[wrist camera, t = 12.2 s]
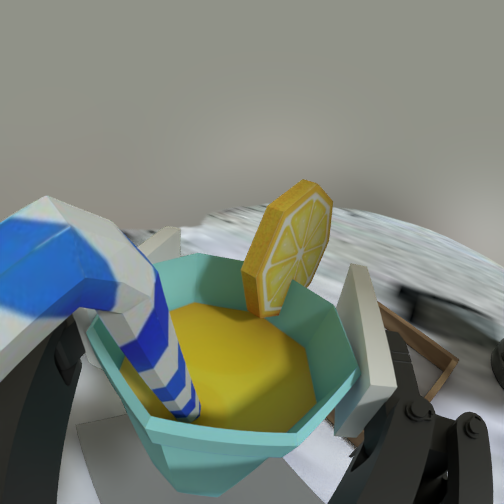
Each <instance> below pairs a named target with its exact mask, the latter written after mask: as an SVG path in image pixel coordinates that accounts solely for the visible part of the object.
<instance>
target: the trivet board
mask: <svg viewBox="0 0 504 504" xmlns="http://www.w3.org/2000/svg"><path fill="white" fill-rule="evenodd" d="M76 429H77V433H78V437H79V440H80V444H81V448H82V451H83V455H84V458H85V461H86V465H87V468H88V471H89V474H90V477H91V479H92V482H93V485H94V488H95V490H96V493H97V495H98V498H99V500H100V503H101V504H325V503H324V502H323V501H322V500H321V499H320V498H319V497H318V496H317V495H316V494H315V493H314V492H313V491H312V490H311V489H310V488H309V487H308V486H307V485H306V483H305V482H304V481H303V480H302V479H301V478H300V477H299V476H298V475H297V474H296V472H295V471H294V470H293V469H292V468H291V467H290V466H289V465H288V463H287V462H286V461H285V460H284V459H283V458H274V457H269V458H268V459H267V460H265V461H264V462H263V463H262V464H261V465H260V466H258V467H257V468H256V469H255V470H254V471H252V472H251V473H250V474H249V475H247V476H246V477H245V478H244V479H242V480H241V481H240V482H238V483H237V484H236V485H234V486H233V487H232V488H230V489H229V490H227V491H226V492H225V493H223V494H222V495H220V496H219V497H209V496H201V495H193V494H186V493H180V492H177V491H176V490H175V489H174V487H173V486H172V485H171V484H170V483H169V482H168V481H167V480H166V478H165V477H164V476H163V475H162V474H161V473H160V471H159V470H158V469H157V468H156V467H155V465H154V464H153V462H152V461H151V459H150V457H149V455H148V453H147V452H146V450H145V448H144V446H143V444H142V442H141V440H140V438H139V436H138V435H137V433H136V431H135V428H134V426H133V424H132V422H131V420H130V418H129V416H128V414H125V415H121V416H117V417H112V418H108V419H103V420H98V421H94V422H88V423H83V424H78V425H76Z"/></svg>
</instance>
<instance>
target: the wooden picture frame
mask: <svg viewBox="0 0 504 504" xmlns="http://www.w3.org/2000/svg"><path fill="white" fill-rule="evenodd" d="M377 302H378V301H377ZM378 306H379V309H380V313H381V317H382V321H383V325H384V327H385V328H386V329H388V330H389V331H394V332H398V333H399V334H400V335H401V337H402V338H403V339H404V341H405V342H406V344H408V345H409V346H410V347H412V348H413V349H414V350H416V351H417V352H418V353H420V354H421V355H422V356H424V357H425V358H426V359H428V360H429V361H430V362H432V363H433V364H434V365H436V366H437V367H438V368H440V369H441V370H442V371H443V374H442V375H441V376H440V378H439V379H438V380H437V382H436V383H435V384H434V386H433V387H432V388H431V389H430V391H429V392H428V393H427V394H426V396H425V397H424V398H425V399H427V400H428V401H429V402H431V400H432V399H433V398H434V396H435V395H436V394H437V392H438V391H439V390H440V388H441V387H442V385H443V384H444V383H445V381H446V380H447V378H448V377H449V375H450V374H451V372H452V371H453V369H454V368H455V366H456V365H457V363H458V361H459V359H458V358H456V357H455V356H454V355H452V354H451V353H450V352H448V351H447V350H445V349H444V348H443V347H441V346H440V345H439V344H437V343H436V342H435V341H433V340H432V339H430V338H429V337H428V336H426V335H425V334H423V333H422V332H421V331H419V330H418V329H416V328H415V327H414V326H412V325H411V324H409V323H408V322H407V321H405V320H404V319H402V318H401V317H400V316H398V315H397V314H395V313H394V312H392V311H391V310H390V309H388V308H387V307H385V306H384V305H382V304H381V303H380V302H378ZM326 418H327V419H328V420H329V421H330V422H331V423H332V424H333V425H334V424H335V407H334V409H333V410H332V411H331V412H330V413H329V414H328V415H327V416H326ZM347 438H348V439H349V440H350V441H351V442H352V443H353V444H354V445H355V446H356V447H358V446H359V445H360V444H361V443H362V442H363V441H364V430H363V431H362V432H361V433H360V434H359V435H358V436H357V438H352V437H347Z"/></svg>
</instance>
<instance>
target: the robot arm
mask: <svg viewBox="0 0 504 504" xmlns="http://www.w3.org/2000/svg"><path fill="white" fill-rule="evenodd" d="M180 237H181V229H180V228H175V227H170V226H165V227H164V228H162V229H161V230H160V231H158V232H157V233H156V234H154V235H153V236H152V237H150V238H149V239H147V240H146V241H145V242H143V243H142V244H141V245H139V246H138V247H137V248H138V249H139V250H140V251H141V252H142V253H143V254H144V255H145V256H146V257H147V259H148V260H149V261H150V262H151V264H154V263H158V262H162V261H166V260H171V259H175V258H179V257H180ZM336 310H337V313H338V315H339V317H340V320H341V322H342V325H343V327H344V330H345V332H346V335H347V337H348V340H349V342H350V345H351V347H352V350H353V352H354V355H355V358H356V360H357V363H358V365H359V368H360V371H361V375H360V377H359V378H358V379H357V381H356V382H355V383H354V384H353V386H352V387H351V388H350V389H349V391H348V392H347V393H346V394H345V396H344V397H343V398H342V399H341V400H340V402H339V403H338V404H337V405H336V406H335V424H334V436H340V437H352V438H357V436H358V435H359V434H360V433H361V432H362V431H363V430H364V441H363V442H362V443H361V444H360V445H359V446H358V447H357V448H356V449H355V450H354V451H353V452H352V453H351V455H350V456H349V457H351V458H352V457H353V456H354V457H353V459H352V461H351V463H350V465H349V467H348V469H347V471H346V473H345V474H344V476H343V478H342V480H341V482H340V483H339V485H338V487H337V489H336V490H335V492H334V494H333V495H332V497H331V499H330V500H329V502H328V504H493V476H492V462H491V452H490V444H489V437H488V430H487V427H486V424H485V422H484V421H483V419H482V418H481V417H480V416H479V415H477V414H476V413H472V412H465V413H463V414H462V415H460V416H459V417H458V418H457V419H456V420H452V419H448V418H445V417H442V416H439V415H436V414H435V411H434V408H433V406H432V404H431V403H430V402H429V401H428V400H427V399H425V398H424V397H422V396H420V394H419V390H418V386H417V381H416V378H415V374H414V370H413V366H412V364H411V359H410V355H408V354H409V352H408V348H407V345H406V342H405V341H404V339H403V338H402V337H401V335H400V334H399V333H398V332H394V331H388V330H385V329H384V325H383V321H382V317H381V313H380V309H379V306H378V302H377V299H376V295H375V292H374V288H373V285H372V282H371V278H370V275H369V272H368V269H367V267H366V266H361V265H356V264H352V263H351V264H350V267H349V270H348V274H347V277H346V280H345V283H344V286H343V289H342V292H341V295H340V298H339V301H338V304H337V307H336ZM96 315H97V312H96V311H95V310H94V309H88V308H82V307H79V308H78V309H77V310H76V311H74V312H73V313H72V314H71V315H70V316H69V317H68V318H66V319H65V320H64V321H63V322H62V323H61V324H60V325H59V326H58V327H56V328H55V329H54V330H53V331H52V332H51V333H50V334H49V335H48V336H47V337H46V338H44V339H43V340H42V341H41V342H40V343H39V344H38V345H37V346H36V347H35V348H34V349H33V350H32V351H31V352H30V353H29V354H28V355H27V356H26V357H25V358H24V359H23V360H22V361H20V362H19V363H18V364H17V365H16V366H15V367H14V368H13V369H12V371H11V372H10V373H9V374H8V375H7V376H6V377H5V378H4V379H3V380H2V381H1V382H0V504H56V503H57V490H58V480H59V472H60V465H61V458H62V451H63V446H64V440H65V435H66V430H67V425H68V420H69V415H70V411H71V407H72V402H73V398H74V394H75V391H76V387H77V383H78V379H79V376H80V372H81V369H82V363H81V360H80V358H81V356H82V355H83V354H84V353H86V355H87V358H88V361H89V363H90V364H92V365H94V366H96V367H98V368H100V369H102V367H101V365H100V364H99V362H98V360H97V358H96V356H95V354H94V351H93V349H92V347H91V344H90V342H89V339H88V337H87V334H86V332H87V330H88V328H89V327H90V325H91V323H92V322H93V320H94V318H95V317H96ZM491 363H492V368H493V371H494V374H495V376H496V378H497V380H498V381H499V383H500V384H501V386H502V387H503V389H504V338H503V339H502V340H501V341H500V342H499V344H498V345H497V347H496V348H495V350H494V351H493V353H492V356H491ZM102 370H103V369H102ZM447 471H448V477H447Z"/></svg>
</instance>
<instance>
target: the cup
mask: <svg viewBox="0 0 504 504" xmlns="http://www.w3.org/2000/svg"><path fill="white" fill-rule="evenodd" d="M332 207H333V201H332V200H331V198H330V197H329V196H328V195H327V194H326V193H325V191H324V190H323V189H322V188H321V187H320V186H319V185H318V184H317V183H314V182H311V181H307V180H304V179H303V180H301V181H300V182H298V183H297V184H296V185H294V186H293V187H292V188H290V189H289V190H288V191H287V192H285V193H284V194H282V195H281V196H280V197H279V198H277V199H276V200H275V201H273V202H272V203H271V204H269V205H268V206H267V208H266V210H265V213H264V215H263V218H262V220H261V222H260V225H259V227H258V230H257V232H256V234H255V237H254V239H253V241H252V244H251V246H250V249H249V251H248V253H247V256H246V258H245V261H240V260H234V259H229V258H223V257H217V256H212V255H206V254H201V253H196V254H191V255H187V256H183V257H179V258H175V259H171V260H166V261H162V262H158V263H154V264H151V262H150V261H149V260H148V259H147V257H146V256H145V255H144V254H143V253H142V252H141V251H140V250H139V249H138V248H137V247H136V246H135V245H134V244H133V243H132V242H131V241H130V240H129V239H128V238H127V237H126V236H125V235H124V233H123V232H122V231H121V230H120V229H119V228H118V227H117V226H116V225H115V224H114V223H113V222H112V221H110V220H108V219H105V218H103V217H100V216H97V215H95V214H92V213H89V212H87V211H85V210H82V209H80V208H77V207H74V206H72V205H69V204H67V203H64V202H62V201H59V200H57V199H54V198H52V197H49V196H44V197H42V198H40V199H38V200H36V201H34V202H32V203H30V204H28V205H27V206H25V207H23V208H22V209H20V210H18V211H17V212H15V213H13V214H12V215H10V216H8V217H7V218H5V219H4V220H2V221H1V222H0V382H1V381H2V380H3V379H4V378H5V377H6V376H7V375H8V374H9V373H10V372H11V371H12V369H13V368H14V367H15V366H16V365H17V364H18V363H19V362H20V361H22V360H23V359H24V358H25V357H26V356H27V355H28V354H29V353H30V352H31V351H32V350H33V349H34V348H35V347H36V346H37V345H38V344H39V343H40V342H41V341H42V340H43V339H44V338H46V337H47V336H48V335H49V334H50V333H51V332H52V331H53V330H54V329H55V328H56V327H58V326H59V325H60V324H61V323H62V322H63V321H64V320H65V319H66V318H68V317H69V316H70V315H71V314H72V313H73V312H74V311H76V310H77V309H78V308H79V307H82V308H88V309H94V310H95V311H96V312H97V315H96V317H95V318H94V320H93V322H92V323H91V325H90V327H89V328H88V330H87V332H86V334H87V337H88V339H89V342H90V344H91V347H92V349H93V351H94V354H95V356H96V358H97V360H98V362H99V364H100V365H101V367H102V369H103V371H104V372H105V374H106V376H107V378H108V379H109V381H110V383H111V384H112V386H113V387H114V389H115V391H116V392H117V394H118V395H119V397H120V398H121V400H122V403H123V405H124V407H125V409H126V412H127V414H128V416H129V418H130V420H131V422H132V424H133V426H134V428H135V431H136V433H137V435H138V436H139V438H140V440H141V442H142V444H143V446H144V448H145V450H146V452H147V453H148V455H149V457H150V459H151V461H152V462H153V464H154V465H155V467H156V468H157V469H158V470H159V471H160V473H161V474H162V475H163V476H164V477H165V478H166V480H167V481H168V482H169V483H170V484H171V485H172V486H173V487H174V489H175V490H176V491H177V492H180V493H186V494H193V495H201V496H209V497H219V496H220V495H222V494H223V493H225V492H226V491H227V490H229V489H230V488H232V487H233V486H234V485H236V484H237V483H238V482H240V481H241V480H242V479H244V478H245V477H246V476H247V475H249V474H250V473H251V472H252V471H254V470H255V469H256V468H257V467H258V466H260V465H261V464H262V463H263V462H264V461H265V460H267V459H268V458H269V457H274V458H282V457H283V456H285V455H286V454H288V453H289V452H291V451H292V450H293V449H295V448H296V447H298V446H299V445H300V444H301V443H302V442H303V441H304V440H305V439H306V438H307V437H308V436H309V435H310V434H311V433H312V432H313V431H314V430H315V428H316V427H317V426H318V425H319V424H320V423H321V422H322V421H323V420H324V419H325V418H326V416H327V415H328V414H329V413H330V412H331V411H332V410H333V409H334V407H335V406H336V405H337V404H338V403H339V402H340V400H341V399H342V398H343V397H344V396H345V394H346V393H347V392H348V391H349V389H350V388H351V387H352V386H353V384H354V383H355V382H356V381H357V379H358V378H359V377H360V375H361V371H360V368H359V365H358V363H357V360H356V358H355V355H354V352H353V350H352V347H351V345H350V342H349V340H348V337H347V335H346V332H345V330H344V327H343V325H342V322H341V320H340V317H339V315H338V313H337V310H336V308H335V307H334V305H333V304H331V303H330V302H328V301H326V300H325V299H323V298H322V297H320V296H319V295H317V294H315V293H314V292H312V291H311V290H309V289H307V287H308V286H309V285H310V283H311V281H312V279H313V277H314V274H315V272H316V270H317V268H318V265H319V263H320V261H321V258H322V256H323V254H324V251H325V249H326V247H327V244H328V242H329V236H330V227H331V217H332Z"/></svg>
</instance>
